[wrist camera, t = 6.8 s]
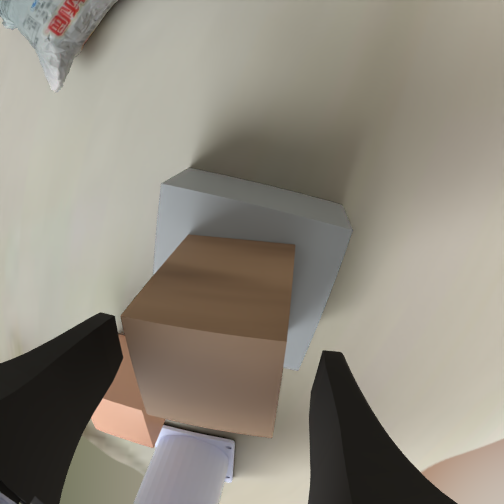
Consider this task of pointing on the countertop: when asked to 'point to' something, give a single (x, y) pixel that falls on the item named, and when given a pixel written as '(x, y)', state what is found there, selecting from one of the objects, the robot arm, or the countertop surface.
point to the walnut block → (214, 333)
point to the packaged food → (55, 30)
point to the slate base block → (261, 236)
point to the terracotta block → (126, 407)
